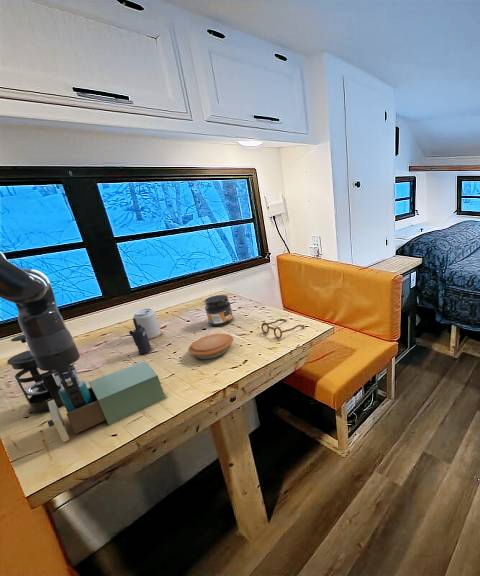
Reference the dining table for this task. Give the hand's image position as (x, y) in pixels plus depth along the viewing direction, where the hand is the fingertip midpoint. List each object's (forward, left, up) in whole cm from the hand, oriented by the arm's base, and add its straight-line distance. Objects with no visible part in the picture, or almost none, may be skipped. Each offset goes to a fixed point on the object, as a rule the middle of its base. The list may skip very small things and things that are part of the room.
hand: (78, 401), depth 83 cm
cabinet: (+10, 0, -7) cm, 13 cm away
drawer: (0, 0, -6) cm, 6 cm away
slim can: (0, 0, -5) cm, 5 cm away
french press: (-5, +19, -7) cm, 21 cm away
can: (+27, +45, -7) cm, 53 cm away
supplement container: (+52, +34, -7) cm, 63 cm away
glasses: (+65, +3, -7) cm, 66 cm away
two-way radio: (+21, +32, -7) cm, 39 cm away
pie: (+38, +10, -7) cm, 40 cm away
